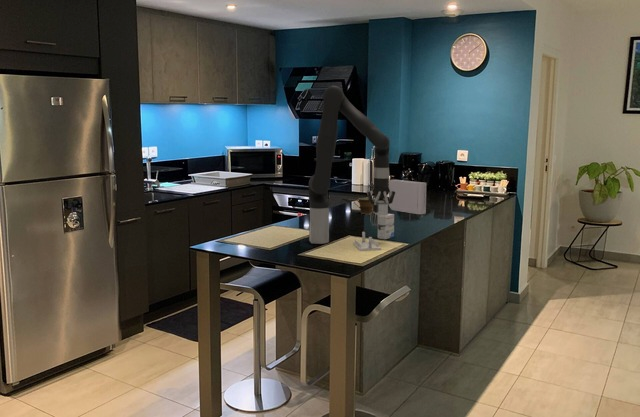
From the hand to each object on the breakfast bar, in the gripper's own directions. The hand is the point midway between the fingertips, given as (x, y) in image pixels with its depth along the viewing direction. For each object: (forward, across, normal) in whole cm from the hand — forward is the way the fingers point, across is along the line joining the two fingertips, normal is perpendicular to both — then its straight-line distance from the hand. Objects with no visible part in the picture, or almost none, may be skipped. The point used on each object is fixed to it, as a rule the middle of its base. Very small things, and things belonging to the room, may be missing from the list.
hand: (380, 212), depth 275 cm
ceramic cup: (+15, +13, +86) cm, 88 cm away
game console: (+15, +43, +91) cm, 102 cm away
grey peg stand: (+15, -9, -8) cm, 19 cm away
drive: (+1, 0, 0) cm, 1 cm away
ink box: (+15, +6, +12) cm, 21 cm away
